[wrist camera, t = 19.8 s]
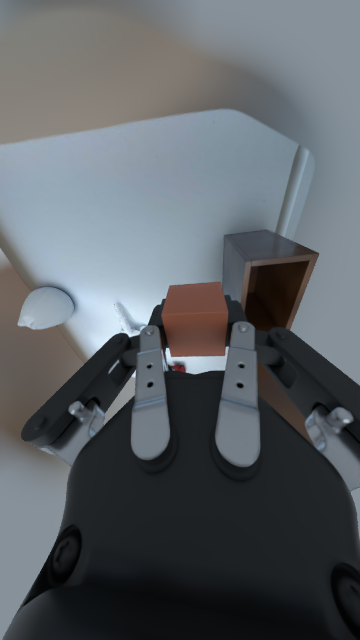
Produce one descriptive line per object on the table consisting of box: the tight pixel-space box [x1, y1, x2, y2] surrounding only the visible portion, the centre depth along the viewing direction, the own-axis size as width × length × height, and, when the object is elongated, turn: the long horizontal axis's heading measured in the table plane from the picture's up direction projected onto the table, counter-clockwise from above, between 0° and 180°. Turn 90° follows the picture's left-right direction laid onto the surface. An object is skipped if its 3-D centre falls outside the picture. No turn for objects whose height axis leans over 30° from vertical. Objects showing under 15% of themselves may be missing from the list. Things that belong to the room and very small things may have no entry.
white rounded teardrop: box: [18, 287, 74, 329], centre depth 41 cm, size 10×10×12 cm
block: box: [161, 282, 228, 357], centre depth 12 cm, size 4×4×4 cm
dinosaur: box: [114, 304, 146, 337], centre depth 48 cm, size 11×25×9 cm, turn 17°
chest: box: [222, 230, 319, 332], centre depth 31 cm, size 15×9×17 cm, turn 7°
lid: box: [257, 362, 314, 445], centre depth 24 cm, size 15×9×5 cm
